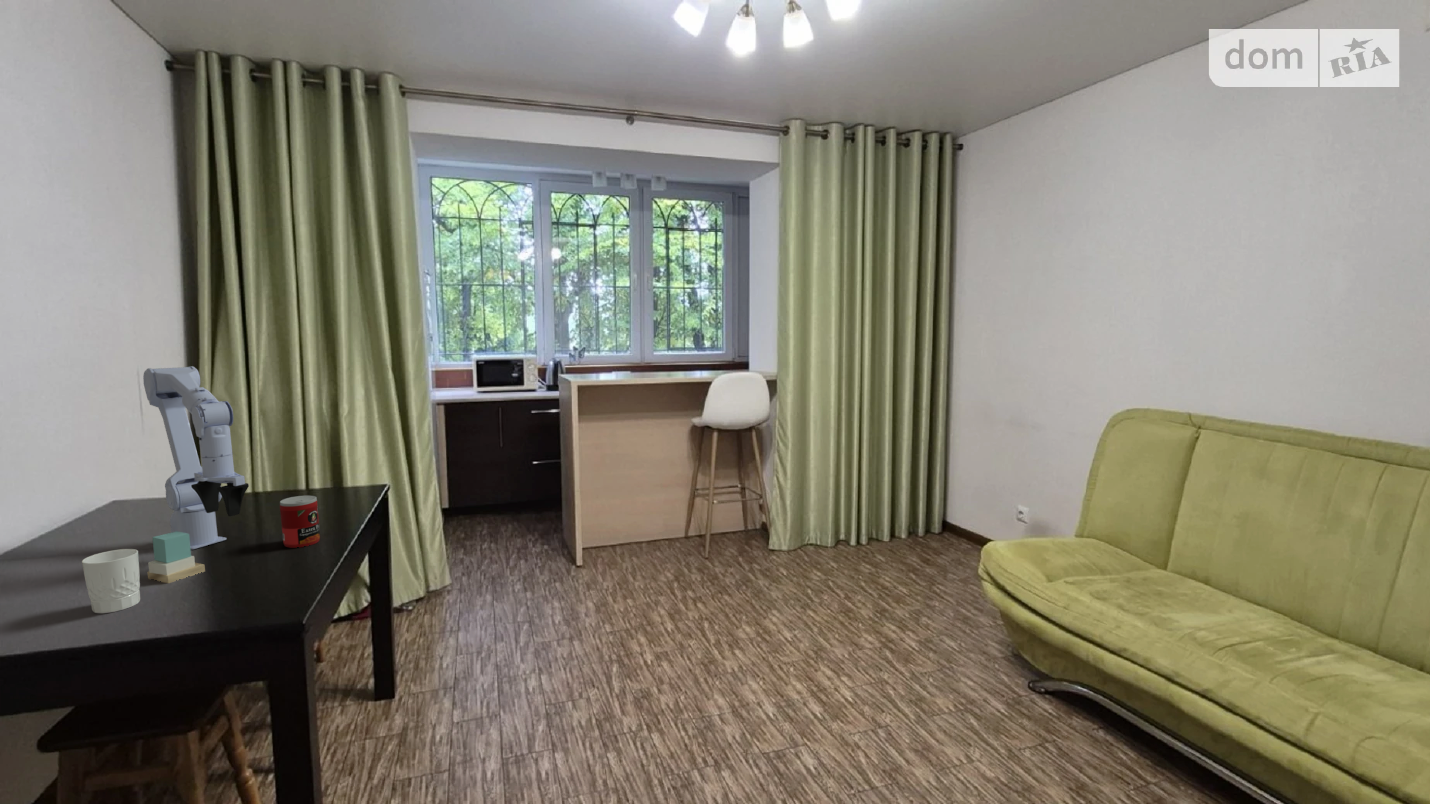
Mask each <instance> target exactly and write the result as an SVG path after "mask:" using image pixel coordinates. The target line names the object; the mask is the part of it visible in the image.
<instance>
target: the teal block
mask: <svg viewBox="0 0 1430 804" xmlns="http://www.w3.org/2000/svg"><path fill="white" fill-rule="evenodd" d="M152 545H153V556H154V557H153V558H154V559H153V560H154V561H155V560H157V561H160V562H164V563H169V562H173V561H176V560H180V559H183V558H187V557H191V556H192V550H191V549H190V538H189V534H187V533H183V532H178V531H176V532H172V533H171V532H168V533H163V534H160V535H156V536H152Z"/></svg>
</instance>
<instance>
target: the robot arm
mask: <svg viewBox="0 0 1430 804" xmlns="http://www.w3.org/2000/svg"><path fill="white" fill-rule="evenodd" d="M143 386H144V388H143V389H144V391H145V395H146V398H147V401H148V403H149V405H150V406H152V407H155V408H158V410H159V413H160V415H161V417H162V420H163V421H162V422H163V424H164V428H165V432H166V436H167V437H166V438H167V439H168V444H169V448H170V452H171V455H172V459H173V463H174V467H175V472H174V473H173V474H172V475H170V476H169V477H168V478H167V479H166V481H165V484H164V488H165V500H166V504H167V506H168V508H169V509H170V510H172V511H173V512H172V513H171V515H170V518H169V523H170V524H169V525H170V533H172V532H176V531H178V532H183V533H187V534H189V538H190V550H191V551H193V550H196V549H199V548H203V547H206V546H208V545H209V546H210V545H213V544H216V543H219V542H223V541H226V540H227V537H223V536H218V528H217V527H218V526H217V517H216V512H218V511H219V507H220V504H219V503H220V501H221V499H223V503H224V506H225V512H226V514H227V516H228V517H233V516H239V515H240V513H241V508H242V503H243V500H244V499H243V498H244V496H245V494H246V492H247V489H249V486H250V485H249V483H247V482H246V481H245V479H246V478H245V475H241V474H240V473H237V472H236V471H235V466H234V465H235V464H234V458H233V457H234V456H233V454H234V453H233V447H232V437H231V435H232V434H231V426H232V425H233V424H234V411H233V407H232V406H231V404H230V402H229V400H228V401H227V400H222V401H221V400H220V401H219V400H218V399H217V398H216V396H215V395H214V394H212V393H211V392H210V390H208V389H207V388H205V387H204V386H202V387H201V376H200V372H199V370H198V369H197V368H196V367H195V366H193V365H192V366H191V365H190V366H185V367H184V366H182V367H164V368H162V367H160V368H151V367H149V368H146V370H144V372H143ZM187 411H188V412H189V413H190V414H191V419H192V423H193V426H194V429H195V435H196V437H198V444H199V451H200V452H199V453H200V458H199V455H198V451H197V447H196V444H195V440H194V436H193V432H192V429H191V428H192V427H191V424H190V421H189V417H188V413H187ZM200 461H201V463H200ZM222 484H224V485H222ZM225 484H226V485H225Z"/></svg>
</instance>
